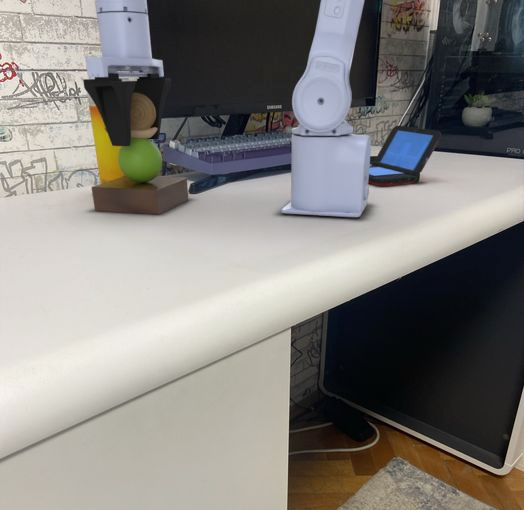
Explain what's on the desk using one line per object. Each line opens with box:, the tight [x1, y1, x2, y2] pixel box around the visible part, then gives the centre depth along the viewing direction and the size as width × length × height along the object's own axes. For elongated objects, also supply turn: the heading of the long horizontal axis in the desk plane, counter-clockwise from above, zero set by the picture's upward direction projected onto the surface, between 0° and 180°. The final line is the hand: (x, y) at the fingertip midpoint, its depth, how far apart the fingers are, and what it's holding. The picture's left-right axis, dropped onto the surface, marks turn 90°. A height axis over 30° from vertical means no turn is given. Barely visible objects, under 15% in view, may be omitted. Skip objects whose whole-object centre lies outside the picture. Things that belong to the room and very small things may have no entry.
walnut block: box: [91, 175, 189, 216], centre depth 70 cm, size 9×9×3 cm
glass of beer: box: [86, 77, 130, 184], centre depth 75 cm, size 6×6×15 cm
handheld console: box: [368, 125, 442, 187], centre depth 85 cm, size 12×11×7 cm
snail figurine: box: [118, 93, 163, 183], centre depth 66 cm, size 5×6×12 cm
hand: (136, 142), depth 67 cm, fingers open, 7 cm apart
